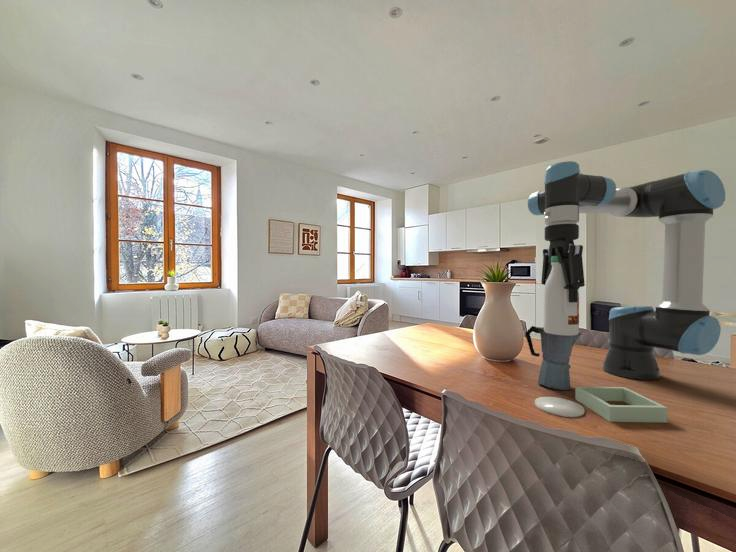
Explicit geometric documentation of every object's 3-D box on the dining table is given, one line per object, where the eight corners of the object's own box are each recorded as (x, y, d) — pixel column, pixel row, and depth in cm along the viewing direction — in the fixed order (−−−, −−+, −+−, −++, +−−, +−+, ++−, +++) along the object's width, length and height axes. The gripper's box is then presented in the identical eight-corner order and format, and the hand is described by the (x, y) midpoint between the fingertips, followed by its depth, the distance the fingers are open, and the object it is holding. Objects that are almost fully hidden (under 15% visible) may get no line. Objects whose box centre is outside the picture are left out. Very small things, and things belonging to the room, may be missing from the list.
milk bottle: (557, 336, 77) (557, 255, 77) (537, 330, 84) (537, 256, 84) (586, 336, 77) (587, 255, 77) (564, 330, 85) (564, 256, 85)
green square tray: (624, 399, 86) (624, 387, 86) (667, 422, 73) (667, 407, 73) (575, 399, 86) (575, 386, 86) (609, 421, 74) (609, 406, 73)
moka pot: (588, 393, 91) (588, 324, 91) (530, 389, 94) (530, 322, 94) (573, 381, 100) (573, 319, 100) (521, 378, 103) (521, 318, 103)
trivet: (568, 399, 87) (568, 397, 87) (594, 417, 76) (595, 415, 76) (527, 398, 87) (527, 396, 87) (548, 416, 76) (548, 414, 76)
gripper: (527, 230, 91) (527, 308, 91) (570, 217, 71) (569, 319, 71) (554, 230, 91) (553, 309, 91) (604, 217, 70) (603, 319, 71)
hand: (560, 313), depth 81 cm, fingers closed on milk bottle, 8 cm apart
